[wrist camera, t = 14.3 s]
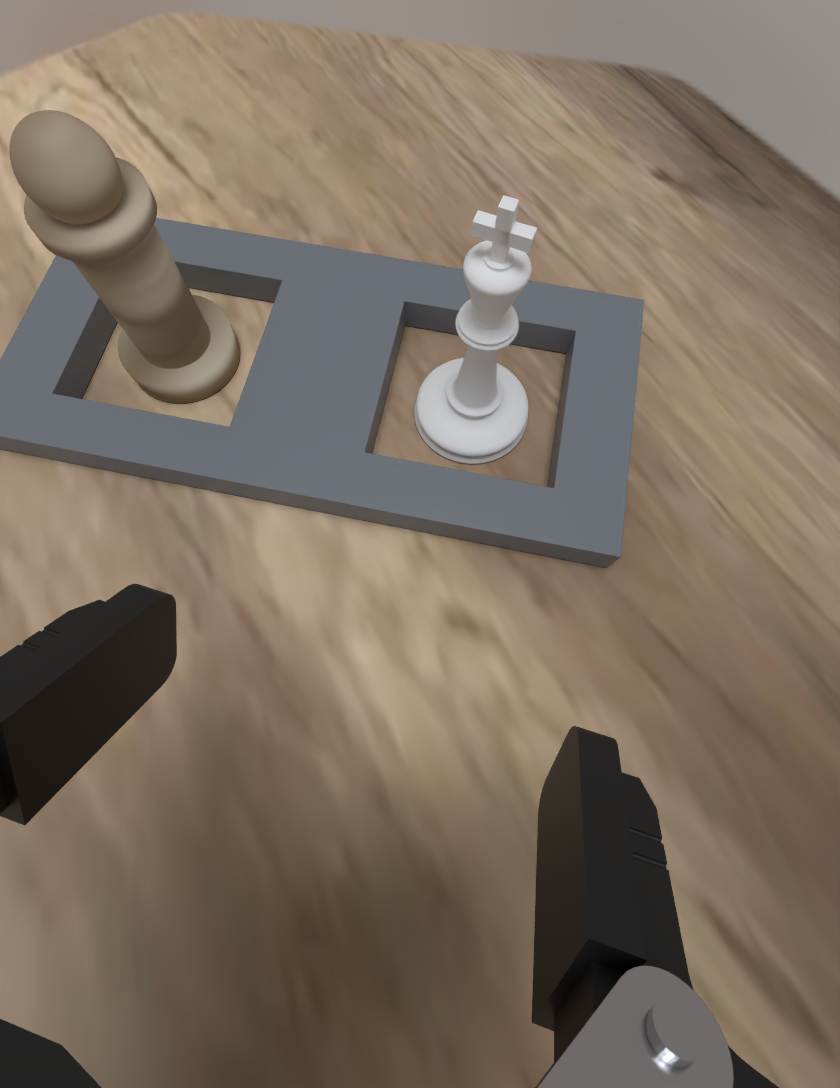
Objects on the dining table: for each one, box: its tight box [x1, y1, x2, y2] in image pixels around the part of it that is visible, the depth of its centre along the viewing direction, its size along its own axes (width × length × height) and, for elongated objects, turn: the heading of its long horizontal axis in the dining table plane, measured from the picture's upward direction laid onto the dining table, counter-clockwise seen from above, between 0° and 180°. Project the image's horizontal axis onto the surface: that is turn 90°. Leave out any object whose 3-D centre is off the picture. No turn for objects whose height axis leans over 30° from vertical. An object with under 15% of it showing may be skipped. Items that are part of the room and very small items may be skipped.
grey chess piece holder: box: [0, 218, 644, 568], centre depth 23 cm, size 26×12×2 cm, turn 78°
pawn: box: [10, 110, 240, 403], centre depth 19 cm, size 5×5×10 cm
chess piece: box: [414, 195, 537, 464], centre depth 19 cm, size 5×5×10 cm
